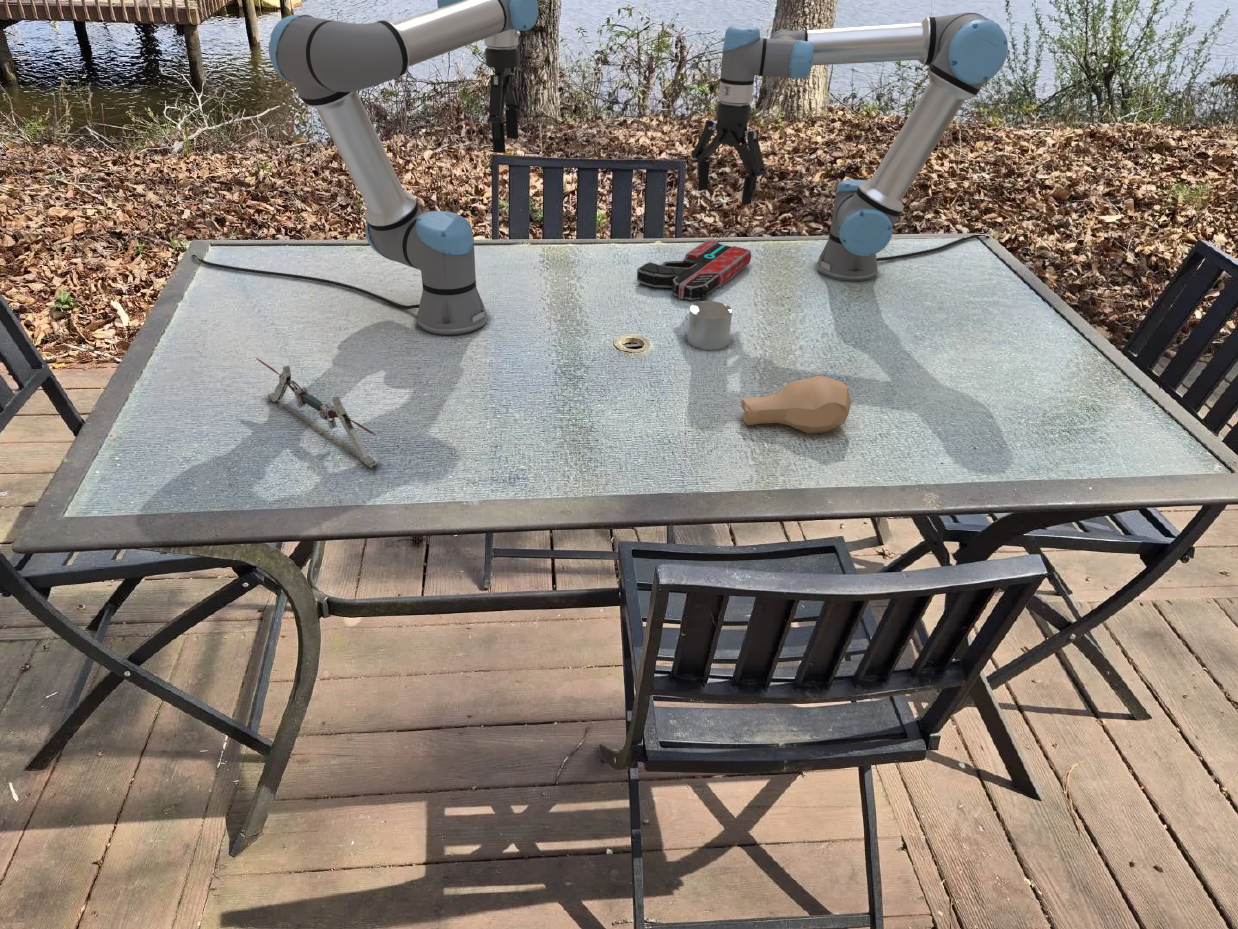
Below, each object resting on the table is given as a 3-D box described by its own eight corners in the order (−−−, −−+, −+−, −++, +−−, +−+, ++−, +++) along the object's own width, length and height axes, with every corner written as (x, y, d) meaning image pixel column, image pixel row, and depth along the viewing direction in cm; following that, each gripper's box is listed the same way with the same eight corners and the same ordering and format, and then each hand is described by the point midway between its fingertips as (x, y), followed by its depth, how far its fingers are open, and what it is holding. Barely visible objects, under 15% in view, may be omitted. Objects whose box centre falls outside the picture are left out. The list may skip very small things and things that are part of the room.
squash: (855, 440, 159) (859, 402, 153) (745, 448, 161) (744, 411, 155) (845, 401, 167) (848, 364, 161) (739, 410, 169) (739, 373, 163)
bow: (387, 470, 147) (379, 419, 141) (378, 475, 146) (370, 423, 140) (269, 391, 168) (258, 344, 163) (260, 394, 167) (249, 347, 162)
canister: (734, 348, 189) (737, 316, 185) (693, 351, 188) (696, 319, 183) (721, 330, 197) (724, 299, 192) (682, 333, 195) (684, 302, 191)
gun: (631, 269, 213) (702, 288, 206) (689, 232, 235) (755, 248, 228) (630, 286, 216) (701, 306, 208) (688, 248, 238) (753, 264, 230)
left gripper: (505, 56, 186) (509, 159, 198) (529, 39, 207) (532, 133, 219) (470, 55, 187) (477, 157, 199) (498, 38, 207) (502, 131, 219)
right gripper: (682, 94, 202) (674, 186, 214) (768, 115, 188) (755, 213, 200) (703, 90, 207) (695, 181, 218) (789, 110, 192) (775, 206, 204)
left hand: (506, 144), depth 209 cm, fingers open, 13 cm apart
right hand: (723, 196), depth 209 cm, fingers open, 13 cm apart
